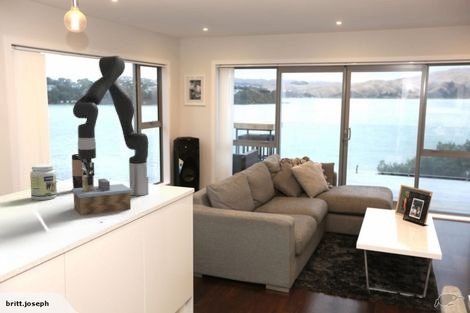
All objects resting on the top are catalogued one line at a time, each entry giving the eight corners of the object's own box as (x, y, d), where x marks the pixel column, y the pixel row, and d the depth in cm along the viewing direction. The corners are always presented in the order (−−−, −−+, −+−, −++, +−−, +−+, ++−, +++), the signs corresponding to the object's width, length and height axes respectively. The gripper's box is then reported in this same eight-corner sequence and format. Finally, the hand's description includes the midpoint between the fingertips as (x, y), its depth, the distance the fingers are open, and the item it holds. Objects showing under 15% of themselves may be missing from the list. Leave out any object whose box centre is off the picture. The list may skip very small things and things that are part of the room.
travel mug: (90, 189, 240) (89, 154, 237) (81, 192, 233) (80, 156, 230) (79, 188, 243) (77, 153, 240) (69, 190, 235) (68, 155, 233)
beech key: (92, 208, 195) (91, 174, 193) (94, 210, 191) (93, 175, 189) (83, 209, 193) (82, 175, 191) (85, 211, 189) (84, 176, 187)
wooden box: (121, 204, 207) (120, 186, 206) (130, 211, 195) (130, 192, 194) (74, 210, 195) (73, 191, 194) (81, 217, 184) (80, 197, 182)
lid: (121, 186, 207) (121, 175, 206) (131, 192, 194) (131, 181, 193) (72, 191, 194) (71, 180, 194) (79, 197, 182) (79, 186, 181)
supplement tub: (47, 201, 212) (45, 167, 209) (25, 199, 214) (24, 166, 212) (62, 195, 224) (60, 164, 221) (41, 194, 226) (39, 163, 224)
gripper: (99, 149, 184) (100, 185, 186) (91, 145, 196) (92, 180, 198) (81, 149, 180) (82, 187, 182) (74, 146, 192) (75, 181, 194)
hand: (87, 183), depth 190 cm, fingers open, 8 cm apart
